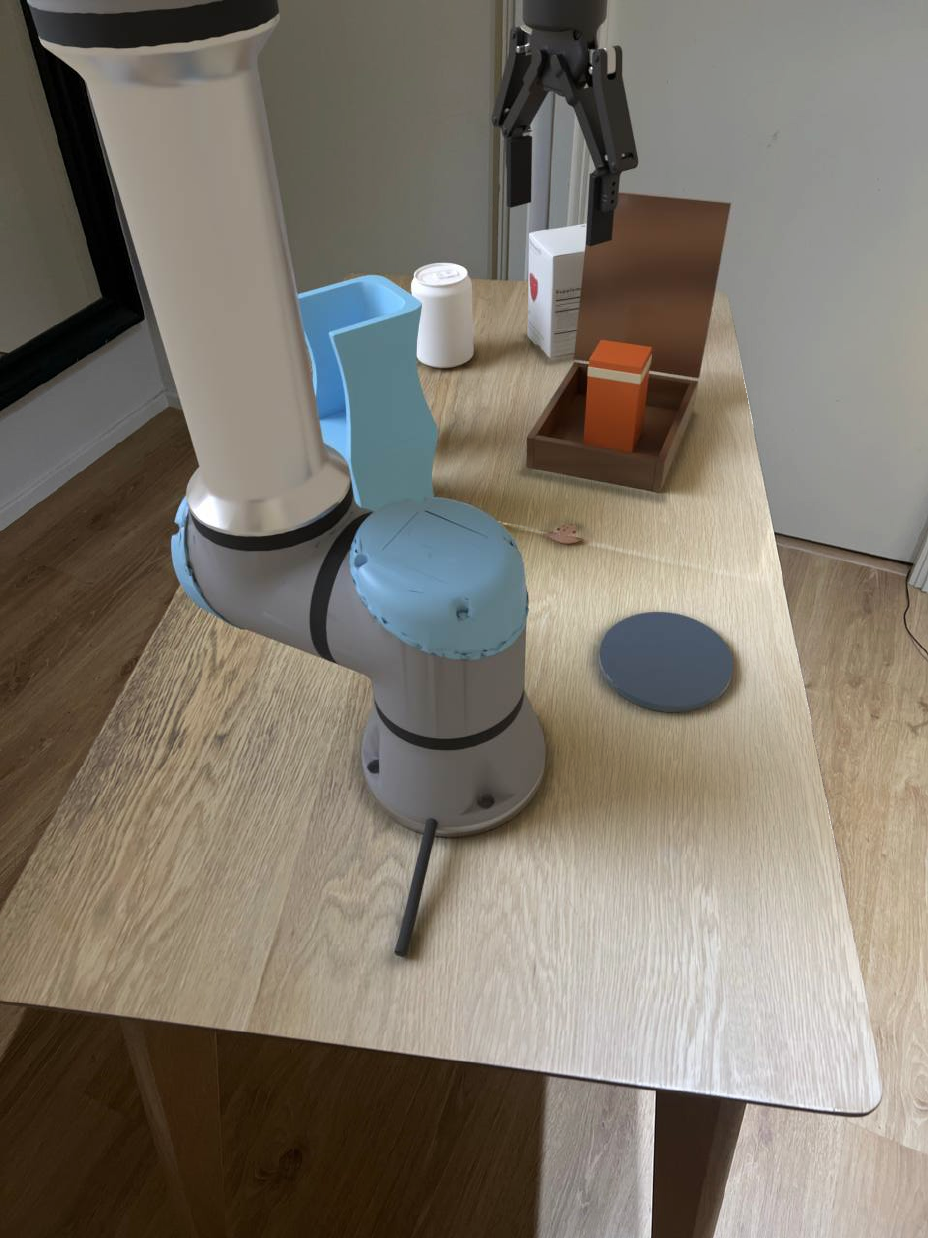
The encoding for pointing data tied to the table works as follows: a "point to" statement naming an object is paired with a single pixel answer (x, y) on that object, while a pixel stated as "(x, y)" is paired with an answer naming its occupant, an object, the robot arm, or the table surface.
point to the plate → (665, 661)
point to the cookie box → (616, 395)
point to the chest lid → (654, 280)
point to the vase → (371, 387)
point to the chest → (645, 468)
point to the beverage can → (444, 315)
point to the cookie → (565, 534)
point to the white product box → (555, 287)
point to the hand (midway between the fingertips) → (557, 222)
